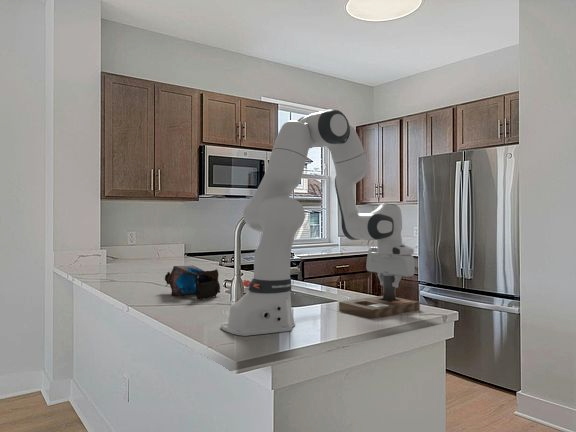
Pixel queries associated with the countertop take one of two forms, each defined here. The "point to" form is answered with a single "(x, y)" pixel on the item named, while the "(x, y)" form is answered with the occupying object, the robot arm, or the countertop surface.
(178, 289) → the lantern
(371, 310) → the socket plate
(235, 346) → the countertop surface
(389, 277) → the plug
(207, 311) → the countertop surface
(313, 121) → the robot arm
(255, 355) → the countertop surface
